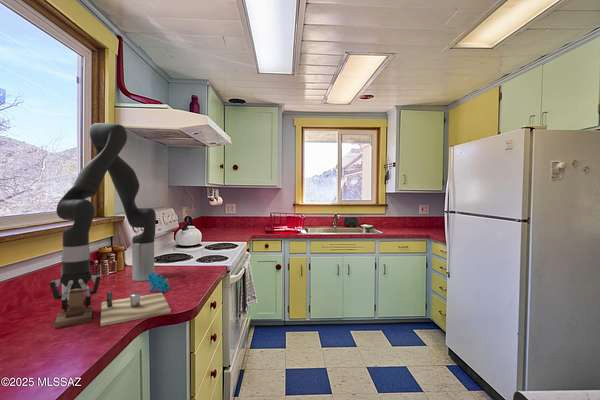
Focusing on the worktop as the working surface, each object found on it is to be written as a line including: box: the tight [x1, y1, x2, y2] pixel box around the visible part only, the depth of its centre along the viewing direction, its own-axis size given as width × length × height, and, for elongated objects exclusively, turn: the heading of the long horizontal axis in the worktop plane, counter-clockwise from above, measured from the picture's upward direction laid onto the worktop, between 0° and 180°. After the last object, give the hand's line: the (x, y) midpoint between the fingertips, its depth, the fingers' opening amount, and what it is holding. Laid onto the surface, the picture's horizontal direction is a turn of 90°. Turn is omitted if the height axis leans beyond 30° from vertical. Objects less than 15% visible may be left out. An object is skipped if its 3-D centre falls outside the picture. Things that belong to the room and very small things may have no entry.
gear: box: [146, 272, 170, 293], centre depth 124 cm, size 11×6×10 cm
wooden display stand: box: [54, 288, 94, 329], centre depth 98 cm, size 14×9×8 cm, turn 33°
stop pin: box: [106, 290, 113, 307], centre depth 104 cm, size 2×2×5 cm
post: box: [129, 292, 141, 308], centre depth 105 cm, size 3×3×4 cm
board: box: [100, 292, 172, 327], centre depth 105 cm, size 20×20×1 cm
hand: (76, 308), depth 100 cm, fingers open, 5 cm apart
